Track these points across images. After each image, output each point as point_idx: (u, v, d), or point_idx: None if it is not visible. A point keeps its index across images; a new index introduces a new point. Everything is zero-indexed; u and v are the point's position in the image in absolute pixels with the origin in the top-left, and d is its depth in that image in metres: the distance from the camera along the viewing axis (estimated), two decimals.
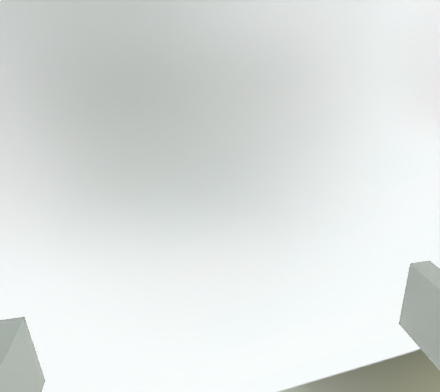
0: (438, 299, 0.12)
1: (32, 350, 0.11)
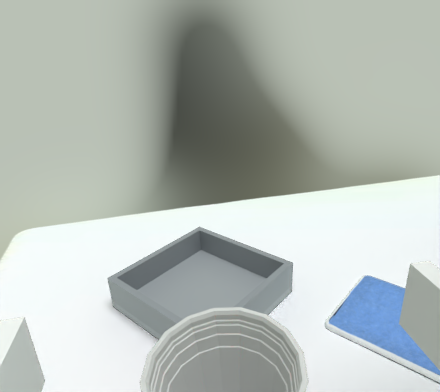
0: (438, 299, 0.12)
1: (32, 350, 0.11)
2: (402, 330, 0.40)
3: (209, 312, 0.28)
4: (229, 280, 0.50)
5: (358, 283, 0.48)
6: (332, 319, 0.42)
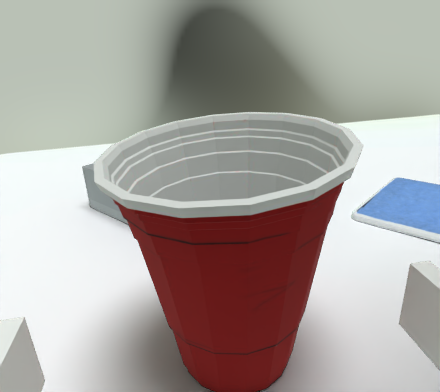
0: (438, 299, 0.12)
1: (32, 350, 0.11)
2: None
3: (205, 117, 0.20)
4: None
5: (388, 183, 0.40)
6: (361, 209, 0.34)
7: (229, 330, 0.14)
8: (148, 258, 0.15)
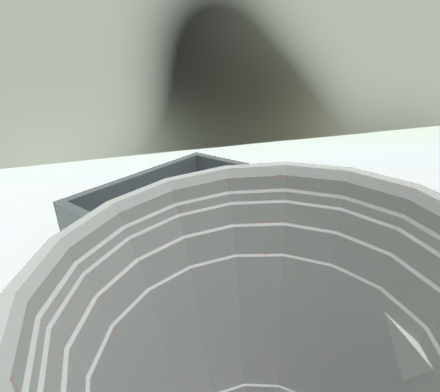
0: None
1: None
2: None
3: (215, 171, 0.12)
4: None
5: None
6: None
7: None
8: None
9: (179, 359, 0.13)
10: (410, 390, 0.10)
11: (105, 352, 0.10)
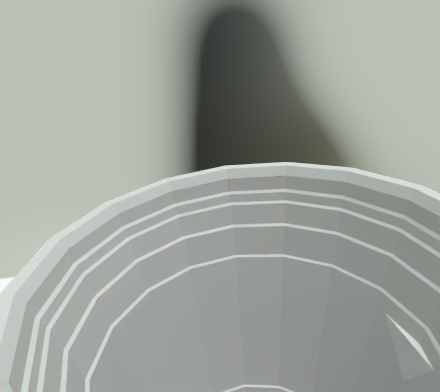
0: None
1: None
2: None
3: (215, 172, 0.12)
4: None
5: None
6: None
7: None
8: None
9: (179, 360, 0.13)
10: (411, 391, 0.10)
11: (105, 353, 0.10)
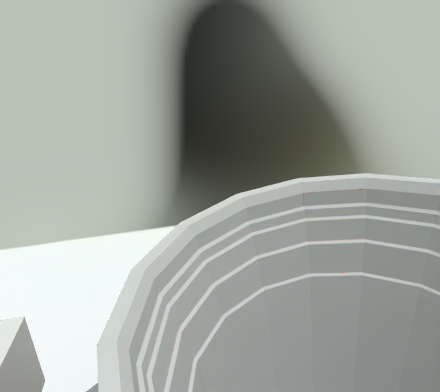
0: None
1: (32, 350, 0.11)
2: None
3: (290, 185, 0.11)
4: None
5: None
6: None
7: None
8: None
9: (252, 388, 0.12)
10: None
11: None
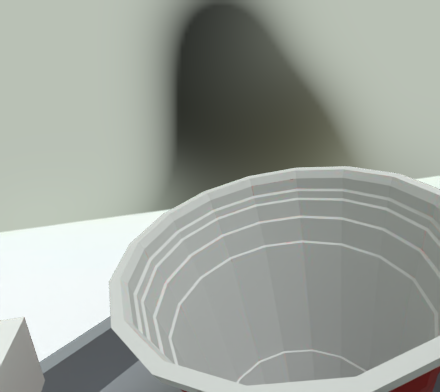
0: None
1: (32, 350, 0.11)
2: None
3: (241, 182, 0.16)
4: None
5: None
6: None
7: None
8: None
9: (230, 332, 0.16)
10: (409, 329, 0.13)
11: (177, 322, 0.13)
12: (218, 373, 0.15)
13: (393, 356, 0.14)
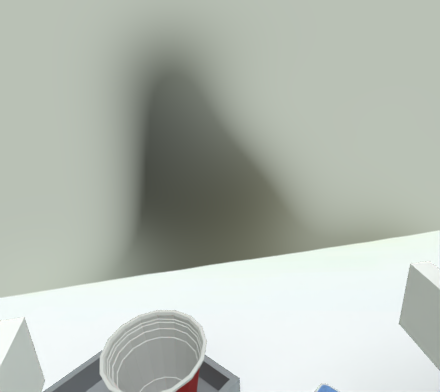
0: (438, 299, 0.12)
1: (32, 350, 0.11)
2: None
3: (153, 313, 0.41)
4: None
5: None
6: None
7: None
8: None
9: (142, 368, 0.42)
10: None
11: (121, 367, 0.39)
12: (135, 383, 0.41)
13: None
